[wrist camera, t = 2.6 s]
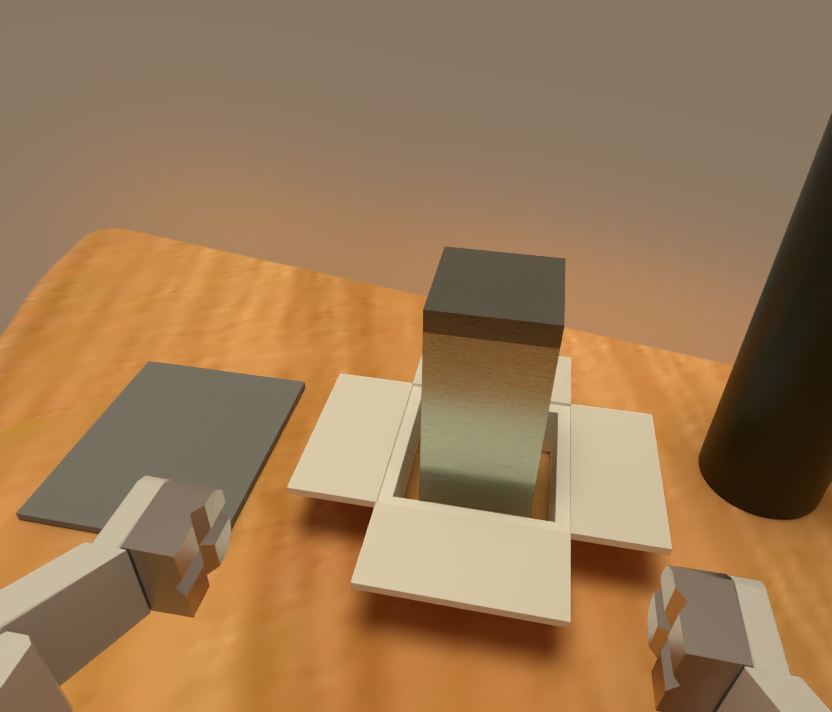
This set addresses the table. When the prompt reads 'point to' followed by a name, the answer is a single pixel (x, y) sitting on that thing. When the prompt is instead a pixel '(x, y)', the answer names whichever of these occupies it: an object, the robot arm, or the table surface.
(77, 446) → the mat
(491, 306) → the tea tin
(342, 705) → the table surface
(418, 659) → the table surface
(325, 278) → the table surface
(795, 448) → the wine bottle
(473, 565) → the carton
